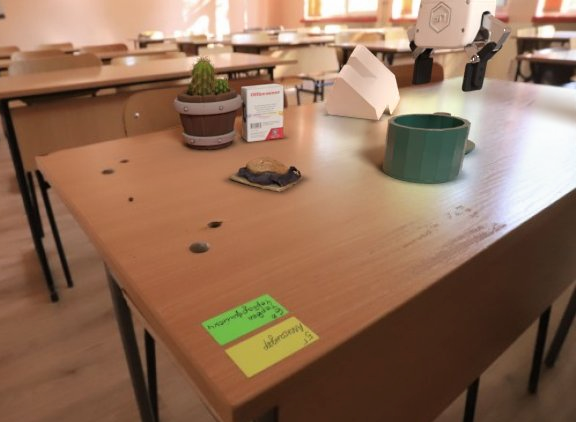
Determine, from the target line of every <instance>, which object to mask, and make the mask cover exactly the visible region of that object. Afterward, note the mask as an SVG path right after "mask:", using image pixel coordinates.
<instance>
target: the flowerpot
mask: <svg viewBox="0 0 576 422" xmlns="http://www.w3.org/2000/svg"><path fill="white" fill-rule="evenodd" d="M210 58H211V57H210V55H205V57H204V56H200V57H199V58H196V61H195V63H191V65H192V66H191V67H189V70H188V71H187V72H188V73H189V76H190V79H187V82H188V85H187V88H186V89H185V90H183V91H181V92H178V93H177V97H176V98H174V100H173V103H172V106H173V109H174V111H175V112H176V113H178V114H179V119H180V123H181V124H182V128H183V131H182V133H181V135H182V137H183V140H184V142H185V143H186V144H187V146H188V147H189V148H191V149H194V150H204V151H205V150H209V151H210V150H220V149H224V148H226V147H229V146H231V145H232V143H233V140H234V139H235V138H236V136H237V135H238V134H237V129H236V128H235V123H236V117H237V112H238V111H237V110H238V109H241V108H242V103H243V100H241V94H238V93H237V90H236V89H235V88H233V87H230V84H229V82H228V78H222V77H221V76H222V74H220V75H219V76H216V74H218V71H217V70H218V68H217V66H215V63H214V62H213V61H214V60H211V59H210Z"/></svg>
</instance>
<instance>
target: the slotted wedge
mask: <svg viewBox="0 0 576 422" xmlns="http://www.w3.org/2000/svg"><path fill="white" fill-rule="evenodd" d="M400 101H401V97H400V93H399V88H398V83H397V79H396V75H395V74H394V73H393V72H392V71H391V70H390V68H388V67H387V66H386V65H385V64H384V63H383V62H382V61H381V60H379V59H378V57H376V56H375V54H373V52H371V50H369V49H368V48H367V47H366V46H365V45H364V44H357V45H356V46H355V48H354V49H353V50H352V53H351V54H350V56H349V57H348V59H347V61H346V63H345V64H344V65H343V66H342V68H341V70H340V71H339V73H338V74H337V76H336V77H335V80H334V82H333V84H332V86H331V89H330V91H329V94H328V96H327V98H326V101H325V102H324V105H325V108H326V110H327V113H328V115H330V116H331V115H332V116H338V117H339V116H340V117H348V118H355V119H357V118H358V119H365V120H371V121H372V120H374V121H380V118H381V117H382V116H383V113H385V110H386V108H387V106H388V109H389V113H390V115H392V114H393V112H394V111H395V109H396V107H397V106H398V104H399V102H400Z"/></svg>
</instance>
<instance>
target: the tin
mask: <svg viewBox="0 0 576 422" xmlns="http://www.w3.org/2000/svg"><path fill="white" fill-rule="evenodd" d="M471 125H472V123H471V122H470V120H468V119H466V118H463V117H460V116H455V115H451V116H449V115H442V114H433V113H407V114H399V115H395V116H392V117H390V118H388V119H387V126H386V135H385V141H384V152H383V161H382V171H383V172H384V173H385V174H386V175H387V176H389V177H391V178H394V179H397V180H401V181H404V182H410V183H415V184H443V183H449V182H453V181H455V180H457V179H459V178H460V175H461V172H462V169H463V164H464V159H465V154H466V153H465V150H466V145H467V140H469V135H470V131H471Z"/></svg>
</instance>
